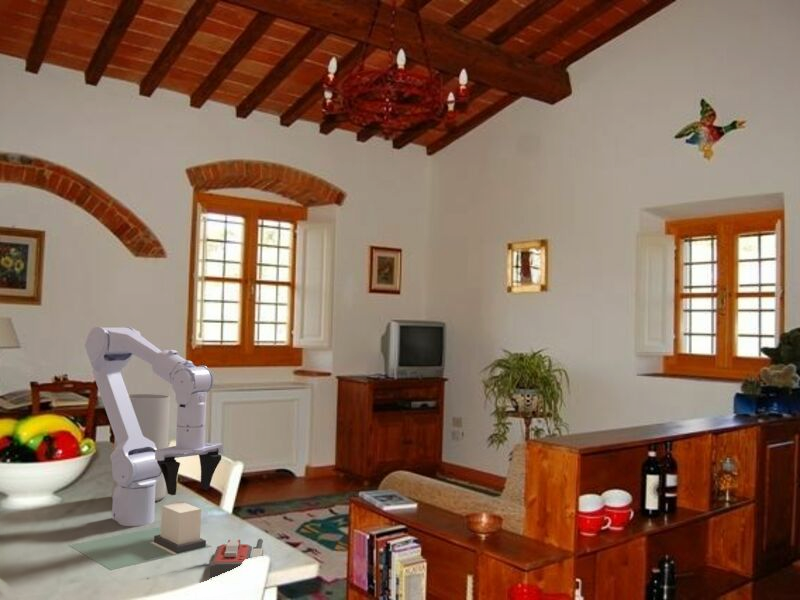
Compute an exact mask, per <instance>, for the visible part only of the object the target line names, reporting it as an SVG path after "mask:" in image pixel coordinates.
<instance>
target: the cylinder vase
mask: <svg viewBox="0 0 800 600" xmlns="http://www.w3.org/2000/svg"><path fill="white" fill-rule="evenodd" d="M128 395H129V398H130V401H131V404H132V406H133V409H134V412H135V415H136V418H137V420H138V423H139V426H140V429H141V432H142V435H143V436H144V437H145V438H147V439H149V440H151V441H152V442H154V443H155V446H156V448H157V449H163V448H168V447H169V434H170V433H169V432H170V414H171V412H170V411H171V396H170V395H167V394H154V393H153V394H152V393H151V394H150V393H138V394H137V393H136V394H132V393H131V394H128ZM113 444H114V446H113V451H114V450H115V448H116V447H117V442H116V439H115V438H114V443H113ZM155 484H156V486H155V502H157V501H160V500H162V499H164V498H165V496H166V494H167V493H166V492H167V487H166V482H165V479H164V476H163V474H162V475H161V476H160V477H159V478H158V482H157V483H155ZM111 487H112V488H111V499H112V500H113V492H114V490H115V488H116V487H117V483H116V481H115V480H114V478H113V477H112V485H111Z"/></svg>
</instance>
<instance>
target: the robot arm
mask: <svg viewBox="0 0 800 600" xmlns="http://www.w3.org/2000/svg"><path fill="white" fill-rule="evenodd" d="M85 340H86V341H85V342H84V348H85V350H86V353H87V357H88V358H89V359H88V360H89V362H90V365H91V368H92V374H93V378H94V380H95V383H96V386H97V388H98V393H99V395H100V398H101V400H102V403H103V406H104V410H105V413H106V415H107V418H108V421H109V424H110V428H111V430H112V432H113V436H114V440H115V439H116V442H117V447H116V448H115V450H114V449H113V451H112V453H111V454H110V456H109V458H110V461H111V472H112V473H111V475H112V479H113V478H114V480H115V481H116V483H117V487H116V488H115V490H114V492H113V499H112V509H111V511H112V512H111V519H112V520H114V521H116V522H117V523H118V524H119V525H121V526H125V527H141V526H147V525H150V524H152V523H153V522H154V521H155V507H156V501H155V486H156V484H155V483H157V482H158V478H159V477H160V476H161V475H162V474H163V476H164V479H165V482H166V492H167V493H166V494H168V495H170V496H176V495H177V485H178V484H177V483H178V481H177V479H178V475H179V474H178V473H179V469H180V465H181V462H179V461H177V459H178V458H185V457H195V456H198V458H199V464H200V488H201V489H203V490H209V489H210V486H211V482H212V479H213V476H214V473H215V471H216V469H217V467H218V466H219V464H220V462H221V460H222V454H223V453H224V443H222V442H219V441H218V442H206V425H207V424H206V423H207V422H206V420H207V401H208V399H207V398H208V396H207V395H208V393H209V392H210V391H211V390H212V388H213V385H214V375H213V373H212V371H211V370H210V368H208V367H207V366H206V365H198V366H196V365H195V364H194V363H193V361H191V360H187V359H185V358H183V357H182V356H180V355H179V354H178V353H179V351H177V350H175V349H166V350H165V349H164V350H163V351H162V350H161V349H159V347H157V346H155V345H154V344H153V343H151V342H150V341H149V340H147V338H145V337H144V336H142V335H141V331H139V330H136V329H135V328H133V327H131V326H125V327H101V326H94V327H93V328H92V329H90V330H89V332H88V334H87V337H86V339H85ZM133 356H135V357H137V358H139V359H140V360H143V361H144V362H147V363H148V364H150V365H151V369H152V372H153V373H154V374H156V375H157V376H158V377H160V378H161V379H163V380H165V381H166V382H168V383H169V384H171V386H172V390H173V391H174V393H175V401H176V404H177V409H176V410H177V411H176V412H177V415H176V416H177V417H176V432H175V433H176V434H175V435H176V439H175V445H174V446H173V445H172V446H168V448H163V449H157V448H156V446H155V443H154V442H152V441H151V440H149V439H147V438H145V437H144V436H143V435H142V432H141V429H140V426H139V423H138V420H137V418H136V415H135V412H134V409H133V406H132V404H131V401H130V398H129V395H130V394H129V393H128V392H129V391H128V390H127V387H126V384H125V382H124V379H123V376H122V373H121V372H122V370H123V368H125V367H126V366H127V365H128V363H129V362H130V361H131V359H132V358H133Z"/></svg>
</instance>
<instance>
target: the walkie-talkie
mask: <svg viewBox="0 0 800 600" xmlns="http://www.w3.org/2000/svg"><path fill="white" fill-rule="evenodd" d="M263 542H264V540H263V539H262V538H259V539H257V542H256V547H255V548H253V546H252V545H250V544H245V543H241V539H228V541H227V543H226V544H225V543H224V544H223V543H222V544H221V545H218V546H217V547H216V548H215V551H214V555H213V557H212V560H211V562H210V565H209V578H212V577H215V576H218V575H220V574H222V573H225V572H227V571H230V570H232V569H234V568H236V567H238V566H240V565H241V564H242V562H243V561H244V560H245V559H248V558H252V557H257V556H263V557H264V548H262V546H263Z"/></svg>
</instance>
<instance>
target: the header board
mask: <svg viewBox="0 0 800 600" xmlns="http://www.w3.org/2000/svg"><path fill="white" fill-rule="evenodd" d="M68 546H69V547H71V548H73V549H75V551H77V552H79V553H81V554H82V555H84V556H86V557H87V558H89V559H91V560H93V562H94V561H95V562H96V563H98V564H99V565H101V566H102V567H104V568H106V569H107V570H108V571H113V570H118V569H122V568H126V567H130V566H135V565H138V564H143V563H147V562H151V561H157V560H161V559H165V558H170V557H173V556H177V555H182V554H188V553H190V552H195V551H199V550H203V549H207V548H211V547H212V546H211V545H209V544H207V540H206V539H204V538H202V537H200V540H198V541H194V542H190V543H185V544H181V545H178V544H176V543H174V542H171V541H169V540H167V539H165V538H163V537H161V526H158V527H152V528H147V529H143V530H138V531H132V532H128V533H123V534H119V535H118V534H117V535H113V536H108V537H103V538H97V539H93V540H88V541H83V542H78V543H74V544H69V545H68Z"/></svg>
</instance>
